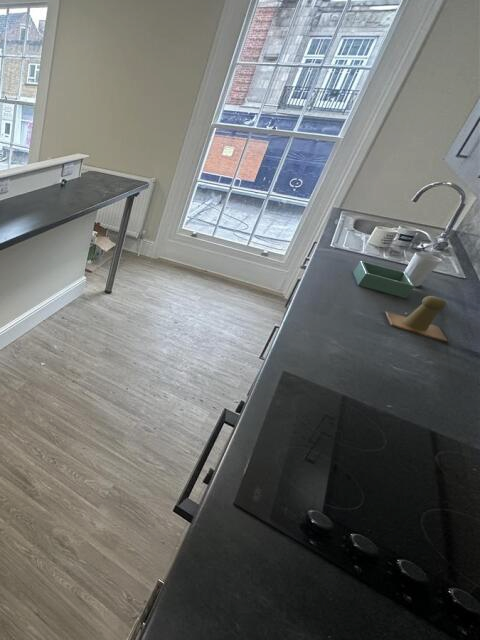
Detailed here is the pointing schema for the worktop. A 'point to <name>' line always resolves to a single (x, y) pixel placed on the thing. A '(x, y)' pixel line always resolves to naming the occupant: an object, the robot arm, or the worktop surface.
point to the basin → (383, 279)
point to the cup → (421, 267)
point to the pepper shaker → (425, 313)
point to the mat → (399, 322)
